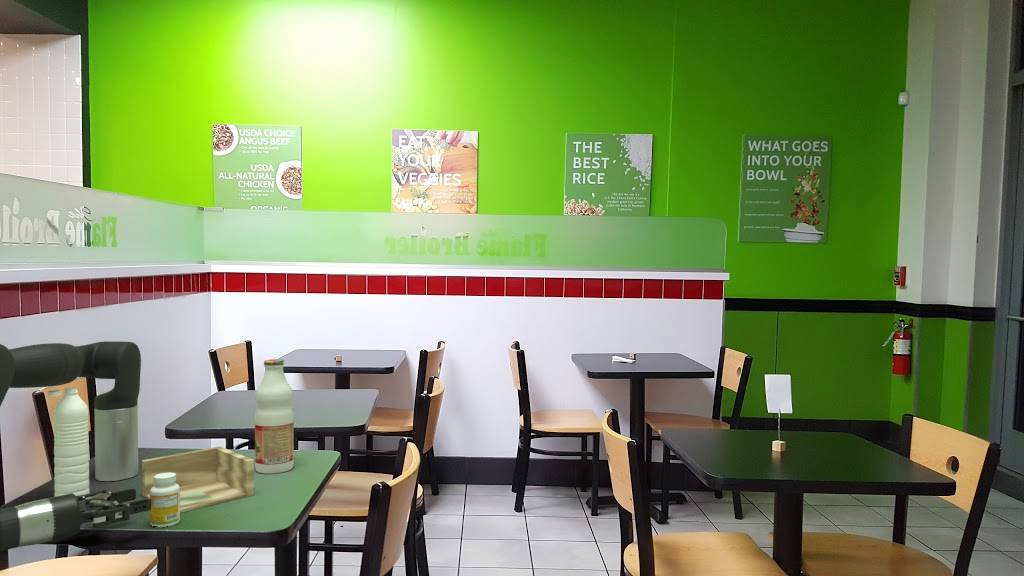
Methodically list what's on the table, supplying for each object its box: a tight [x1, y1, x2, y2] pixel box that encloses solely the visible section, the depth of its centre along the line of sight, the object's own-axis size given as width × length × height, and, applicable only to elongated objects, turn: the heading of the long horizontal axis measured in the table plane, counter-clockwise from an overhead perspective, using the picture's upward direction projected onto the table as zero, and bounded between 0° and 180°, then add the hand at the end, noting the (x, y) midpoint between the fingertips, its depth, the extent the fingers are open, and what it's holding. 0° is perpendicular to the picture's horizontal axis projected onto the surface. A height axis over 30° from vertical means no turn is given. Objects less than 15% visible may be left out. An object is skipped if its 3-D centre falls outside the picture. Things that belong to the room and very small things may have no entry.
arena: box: [141, 446, 255, 514], centre depth 158 cm, size 18×18×8 cm
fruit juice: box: [254, 358, 295, 475], centre depth 178 cm, size 9×9×28 cm
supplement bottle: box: [149, 472, 181, 528], centre depth 140 cm, size 5×5×10 cm
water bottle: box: [47, 387, 90, 497], centre depth 152 cm, size 9×6×25 cm
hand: (142, 498), depth 137 cm, fingers open, 8 cm apart
